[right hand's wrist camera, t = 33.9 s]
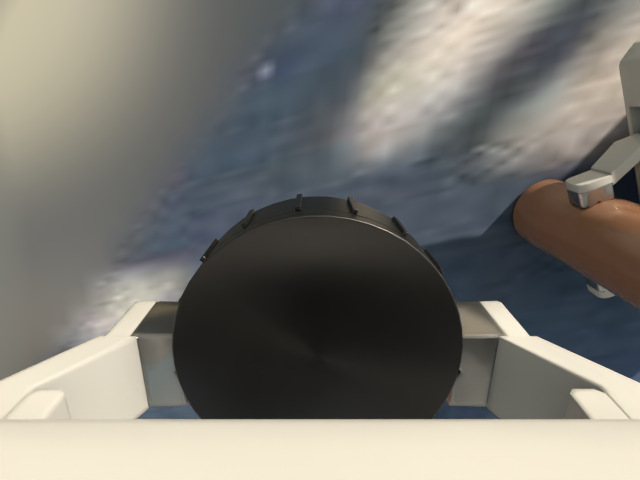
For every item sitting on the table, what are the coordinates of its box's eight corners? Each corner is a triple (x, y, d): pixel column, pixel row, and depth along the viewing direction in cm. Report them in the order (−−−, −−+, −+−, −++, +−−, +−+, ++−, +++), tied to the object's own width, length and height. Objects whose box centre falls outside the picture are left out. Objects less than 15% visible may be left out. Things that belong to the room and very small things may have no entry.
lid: (357, 137, 9) (366, 144, 7) (486, 344, 10) (517, 388, 9) (139, 284, 10) (104, 319, 8) (288, 452, 11) (283, 511, 10)
